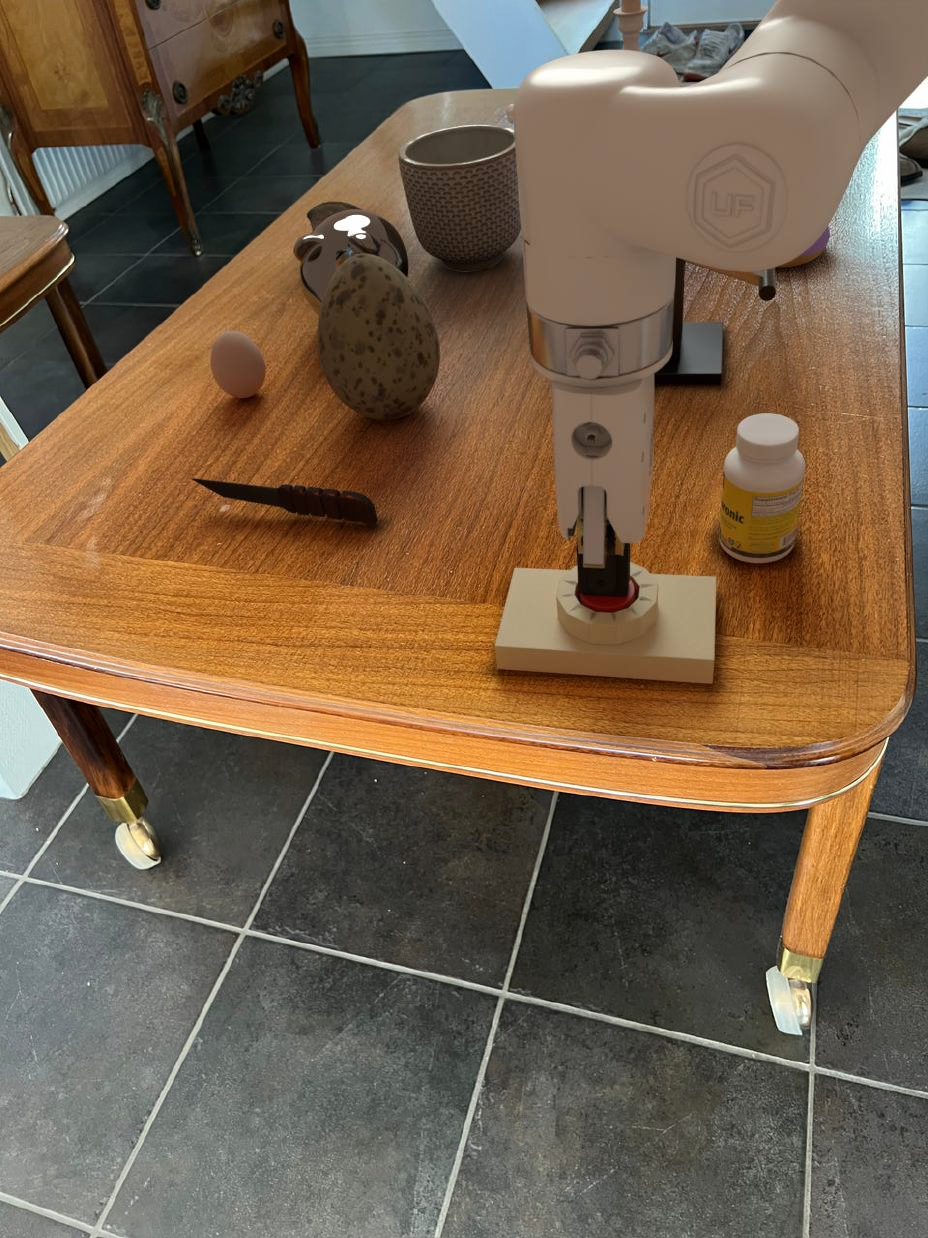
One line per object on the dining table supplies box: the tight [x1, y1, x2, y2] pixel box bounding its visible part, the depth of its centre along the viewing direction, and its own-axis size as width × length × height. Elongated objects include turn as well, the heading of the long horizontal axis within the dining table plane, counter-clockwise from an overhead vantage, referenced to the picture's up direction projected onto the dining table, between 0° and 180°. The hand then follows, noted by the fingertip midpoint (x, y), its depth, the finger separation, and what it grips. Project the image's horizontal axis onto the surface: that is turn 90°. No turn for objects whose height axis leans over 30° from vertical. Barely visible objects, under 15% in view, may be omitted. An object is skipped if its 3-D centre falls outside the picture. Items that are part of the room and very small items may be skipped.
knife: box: [191, 478, 379, 529], centre depth 79 cm, size 17×1×3 cm, turn 71°
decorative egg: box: [316, 253, 441, 421], centre depth 85 cm, size 11×11×15 cm
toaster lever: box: [684, 260, 777, 302], centre depth 84 cm, size 12×5×2 cm, turn 78°
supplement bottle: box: [718, 412, 806, 564], centre depth 67 cm, size 5×5×10 cm
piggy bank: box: [292, 208, 409, 316], centre depth 100 cm, size 11×15×12 cm
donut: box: [775, 226, 831, 269], centre depth 104 cm, size 10×9×5 cm
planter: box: [398, 123, 521, 273], centre depth 109 cm, size 14×14×13 cm
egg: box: [210, 330, 267, 399], centre depth 93 cm, size 5×5×7 cm
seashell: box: [306, 201, 363, 231], centre depth 116 cm, size 16×9×7 cm, turn 176°
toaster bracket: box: [654, 257, 724, 386], centre depth 87 cm, size 12×10×13 cm
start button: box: [580, 579, 635, 613], centre depth 63 cm, size 4×4×2 cm
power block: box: [494, 561, 718, 685], centre depth 64 cm, size 14×8×4 cm, turn 78°
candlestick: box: [613, 0, 649, 52], centre depth 104 cm, size 13×13×30 cm
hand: (604, 587), depth 62 cm, fingers closed
